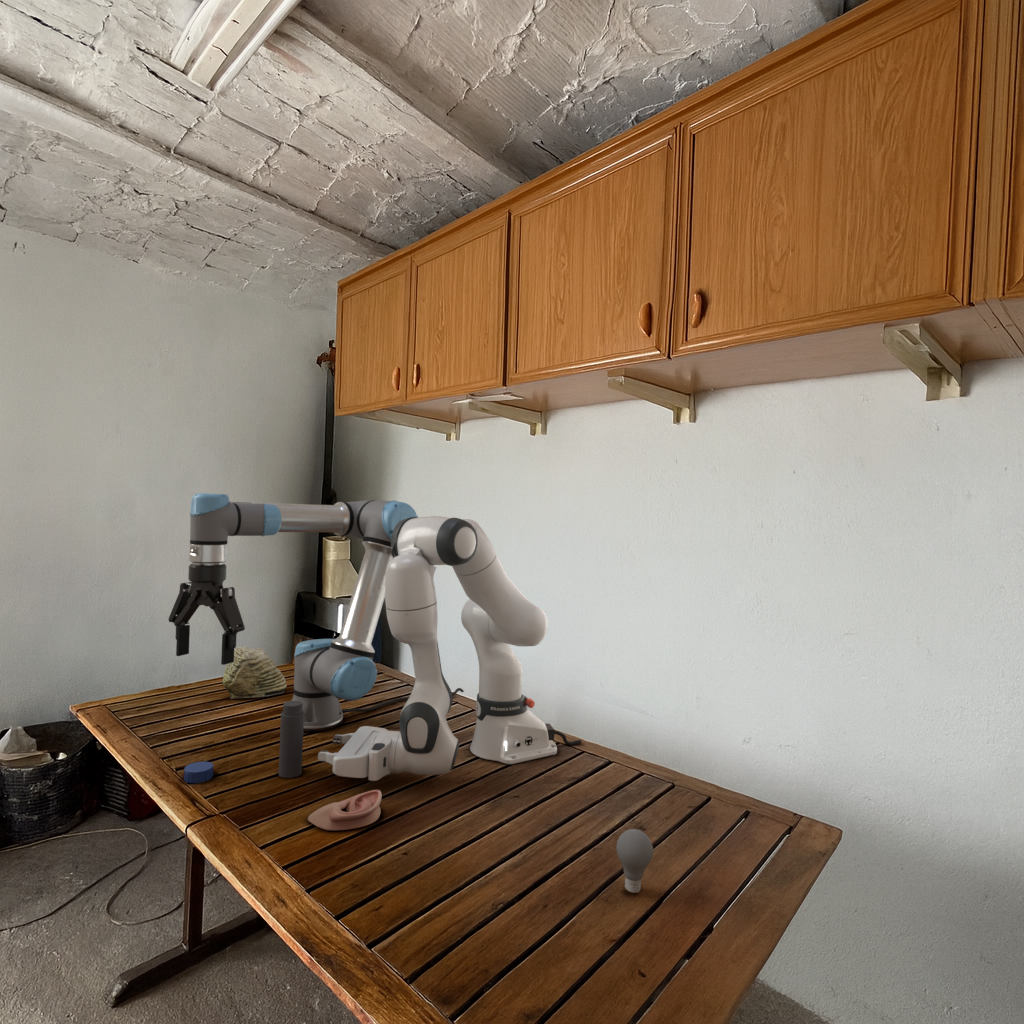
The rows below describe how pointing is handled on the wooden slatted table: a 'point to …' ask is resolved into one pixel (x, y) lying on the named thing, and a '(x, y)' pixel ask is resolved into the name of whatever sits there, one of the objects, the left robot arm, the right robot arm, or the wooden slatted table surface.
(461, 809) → the wooden slatted table surface
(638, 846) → the light bulb
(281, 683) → the fossil
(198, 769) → the lid
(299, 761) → the grey bottle
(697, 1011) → the wooden slatted table surface
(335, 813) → the anatomical model
